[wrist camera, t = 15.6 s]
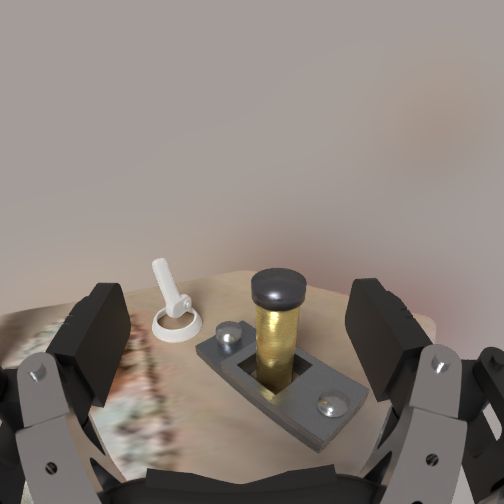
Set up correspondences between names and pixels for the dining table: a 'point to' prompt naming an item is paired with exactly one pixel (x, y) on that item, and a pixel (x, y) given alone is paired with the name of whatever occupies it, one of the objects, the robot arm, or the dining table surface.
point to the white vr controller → (173, 306)
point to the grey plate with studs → (293, 396)
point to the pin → (276, 324)
